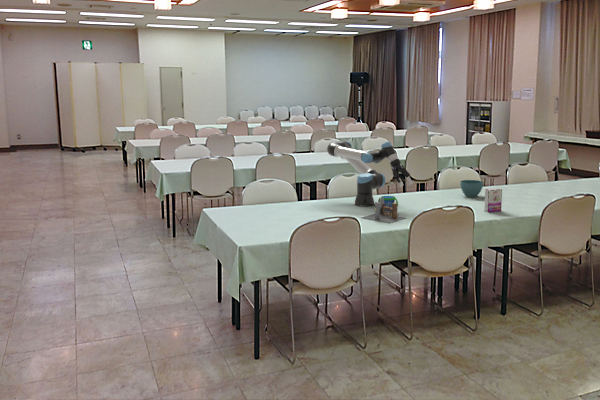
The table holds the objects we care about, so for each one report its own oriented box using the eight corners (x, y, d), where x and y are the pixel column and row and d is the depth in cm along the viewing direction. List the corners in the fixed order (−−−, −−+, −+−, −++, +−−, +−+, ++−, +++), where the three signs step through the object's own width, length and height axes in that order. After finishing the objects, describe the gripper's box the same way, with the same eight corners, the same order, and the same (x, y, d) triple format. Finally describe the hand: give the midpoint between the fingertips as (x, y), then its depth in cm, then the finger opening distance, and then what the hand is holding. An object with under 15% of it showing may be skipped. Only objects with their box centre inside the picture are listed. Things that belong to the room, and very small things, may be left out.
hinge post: (377, 214, 410) (378, 197, 408) (384, 214, 410) (385, 197, 407) (377, 215, 405) (378, 198, 403) (385, 215, 405) (385, 199, 402)
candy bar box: (497, 210, 420) (498, 187, 417) (501, 211, 415) (502, 189, 412) (483, 211, 417) (485, 188, 414) (487, 212, 412) (489, 190, 409)
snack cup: (374, 210, 423) (375, 196, 421) (383, 207, 431) (383, 194, 429) (392, 213, 413) (393, 199, 411) (400, 210, 420) (401, 197, 418)
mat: (361, 217, 399) (361, 217, 399) (378, 213, 413) (378, 212, 413) (389, 223, 383) (389, 222, 383) (406, 218, 397) (406, 217, 397)
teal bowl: (455, 195, 477) (455, 180, 475) (474, 193, 482) (474, 179, 480) (467, 199, 460) (468, 184, 458) (487, 197, 465) (488, 182, 463)
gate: (381, 214, 405) (382, 200, 403) (384, 214, 406) (384, 200, 404) (394, 218, 393) (394, 203, 391) (397, 218, 394) (397, 203, 392)
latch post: (375, 219, 395) (375, 202, 393) (379, 219, 395) (379, 202, 392) (374, 220, 390) (375, 203, 388) (379, 220, 390) (379, 203, 387)
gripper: (389, 159, 422) (402, 184, 417) (406, 157, 441) (418, 181, 436) (381, 164, 427) (394, 189, 422) (399, 162, 446) (411, 186, 441)
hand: (406, 185), depth 429 cm, fingers open, 13 cm apart
